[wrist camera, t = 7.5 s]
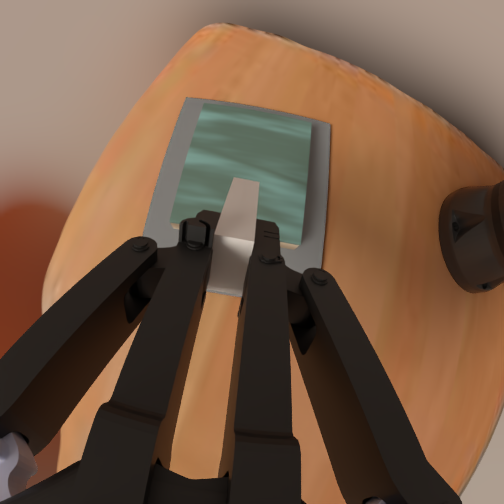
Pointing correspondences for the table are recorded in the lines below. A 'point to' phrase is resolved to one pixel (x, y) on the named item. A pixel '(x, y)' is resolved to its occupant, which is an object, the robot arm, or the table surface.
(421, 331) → the table surface
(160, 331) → the robot arm
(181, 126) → the mat
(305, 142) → the plaque
